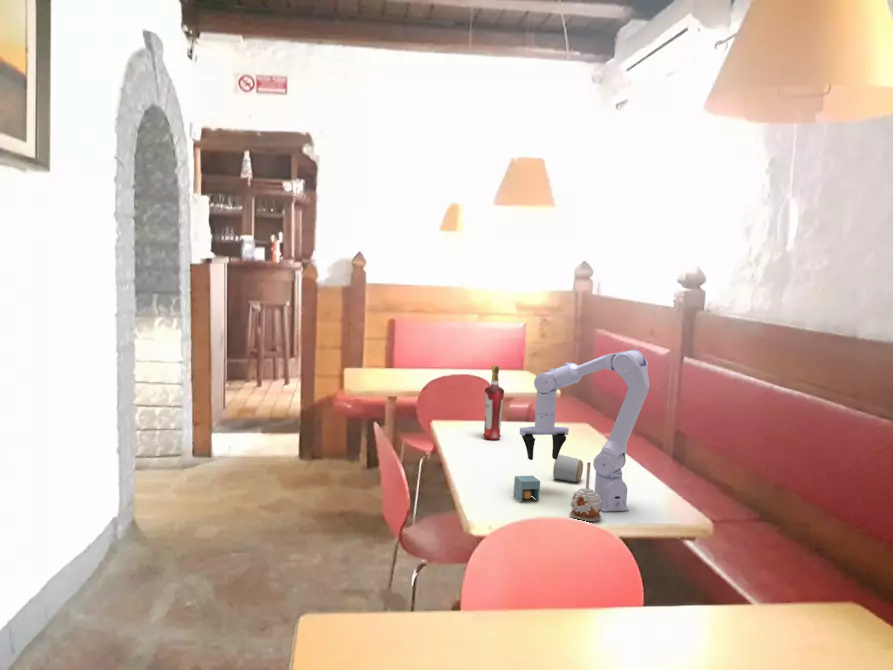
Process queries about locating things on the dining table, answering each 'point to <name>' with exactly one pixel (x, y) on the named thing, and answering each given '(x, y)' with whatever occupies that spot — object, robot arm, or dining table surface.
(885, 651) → the dining table surface
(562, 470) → the ceramic mug
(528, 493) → the orange ball
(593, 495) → the caramel apple
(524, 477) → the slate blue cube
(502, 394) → the liquor
